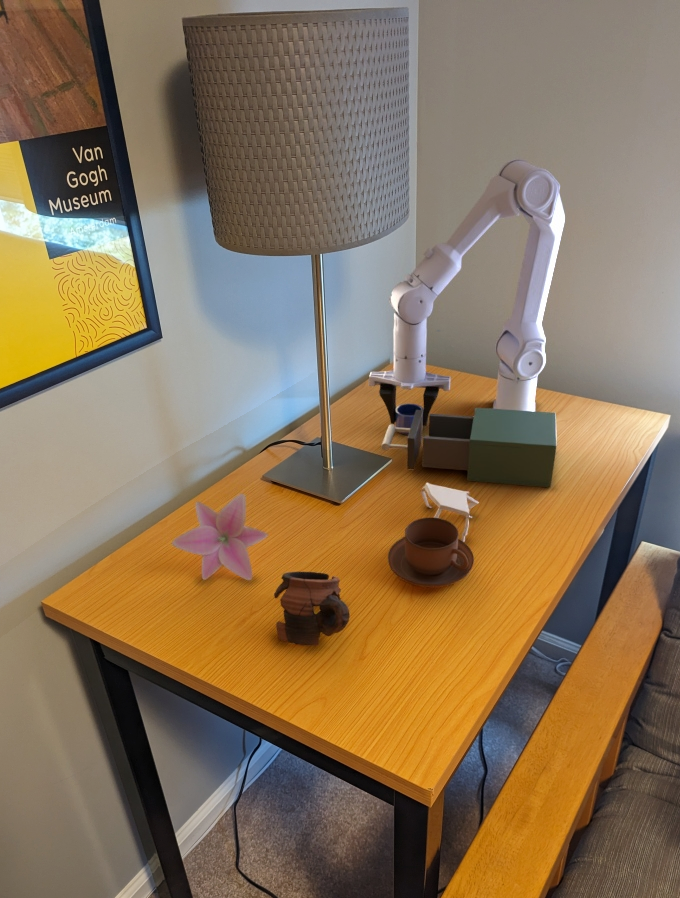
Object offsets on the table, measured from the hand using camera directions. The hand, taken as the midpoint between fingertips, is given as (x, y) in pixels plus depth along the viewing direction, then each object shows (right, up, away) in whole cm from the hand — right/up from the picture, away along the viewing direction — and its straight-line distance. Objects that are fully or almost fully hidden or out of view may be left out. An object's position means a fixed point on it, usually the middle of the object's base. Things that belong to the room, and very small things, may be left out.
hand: (409, 422), depth 138 cm
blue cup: (0, -1, +1) cm, 1 cm away
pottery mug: (-14, -33, -42) cm, 55 cm away
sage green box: (+17, -9, -11) cm, 22 cm away
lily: (-28, -25, -31) cm, 49 cm away
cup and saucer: (+1, -26, -33) cm, 42 cm away
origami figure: (+4, -19, -23) cm, 30 cm away
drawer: (+4, -7, -9) cm, 12 cm away
